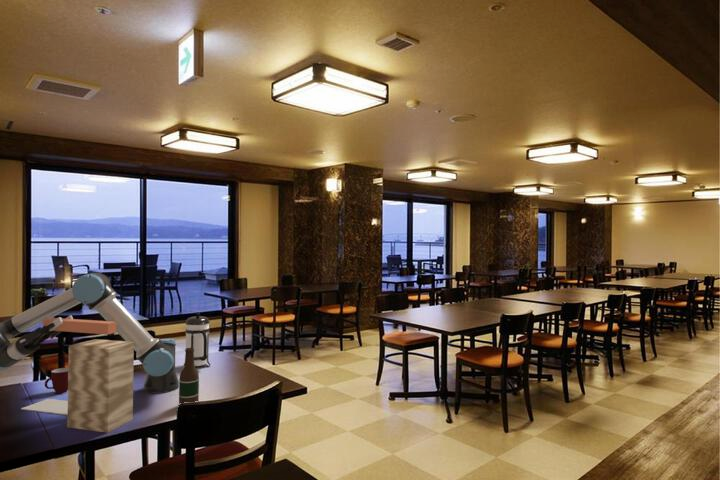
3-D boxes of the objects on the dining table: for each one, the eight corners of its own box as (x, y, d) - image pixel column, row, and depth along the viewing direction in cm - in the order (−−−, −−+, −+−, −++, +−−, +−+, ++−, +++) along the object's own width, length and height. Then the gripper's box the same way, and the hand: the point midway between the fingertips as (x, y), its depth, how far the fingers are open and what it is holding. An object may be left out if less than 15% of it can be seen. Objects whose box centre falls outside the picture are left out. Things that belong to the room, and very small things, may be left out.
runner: (105, 406, 184) (105, 405, 184) (81, 417, 173) (81, 416, 173) (48, 399, 191) (48, 398, 191) (20, 409, 180) (20, 408, 180)
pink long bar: (116, 332, 167) (116, 321, 167) (107, 334, 163) (108, 323, 163) (52, 327, 174) (52, 317, 174) (42, 329, 170) (43, 319, 170)
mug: (49, 398, 193) (49, 375, 193) (41, 394, 198) (41, 372, 198) (75, 391, 202) (75, 369, 202) (67, 388, 207) (67, 366, 207)
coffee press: (175, 369, 238) (176, 314, 239) (191, 362, 254) (192, 309, 255) (205, 371, 236) (206, 315, 236) (219, 363, 251) (220, 311, 252)
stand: (132, 419, 170) (133, 342, 171) (107, 432, 159) (109, 349, 159) (94, 415, 175) (95, 339, 175) (67, 427, 163) (68, 345, 163)
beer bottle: (186, 410, 181) (187, 351, 181) (174, 406, 185) (175, 348, 185) (202, 404, 188) (203, 347, 188) (190, 400, 192) (191, 345, 192)
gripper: (48, 349, 183) (89, 324, 178) (6, 360, 166) (50, 332, 161) (41, 333, 184) (81, 307, 179) (-2, 342, 167) (42, 313, 162)
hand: (66, 319), depth 170 cm, fingers closed on pink long bar, 4 cm apart
